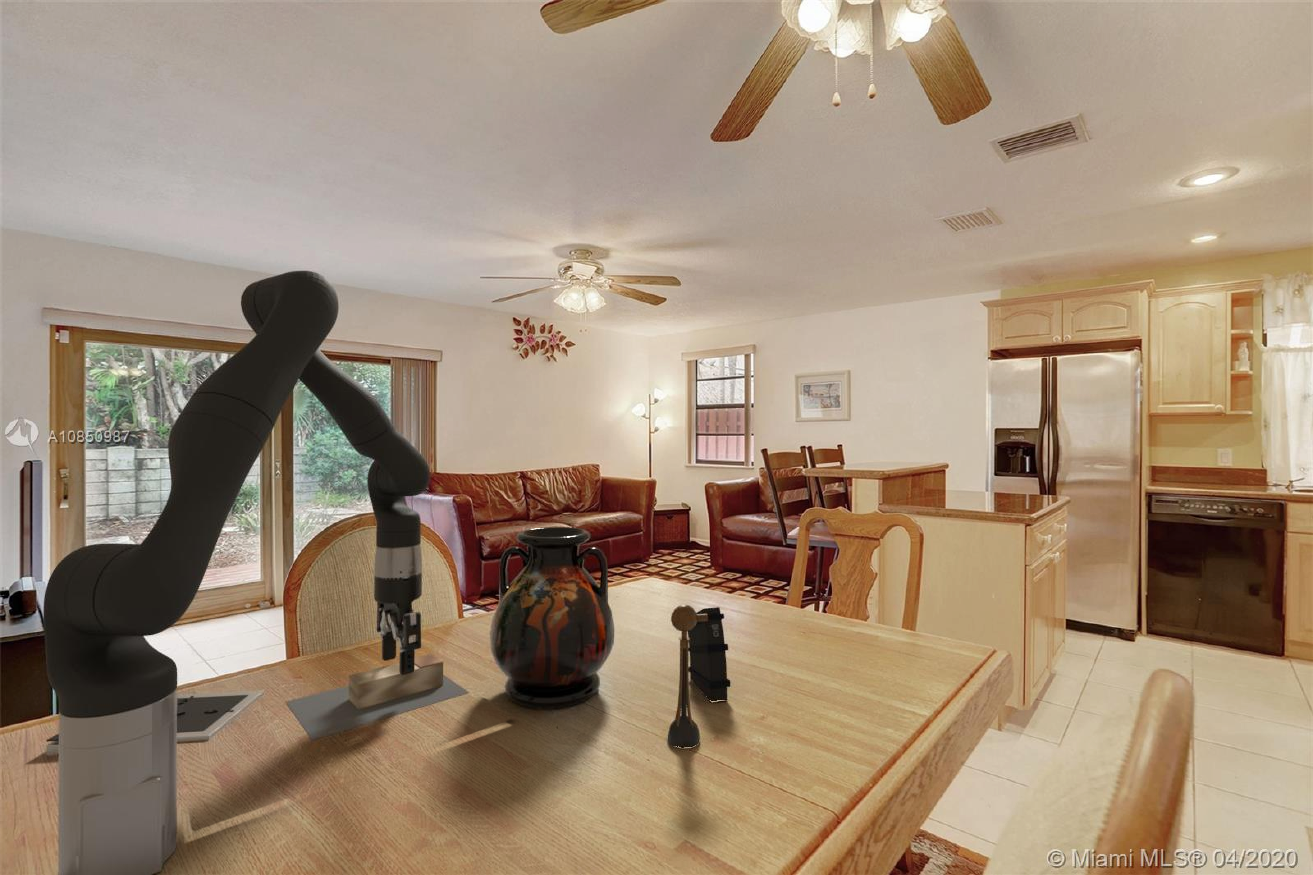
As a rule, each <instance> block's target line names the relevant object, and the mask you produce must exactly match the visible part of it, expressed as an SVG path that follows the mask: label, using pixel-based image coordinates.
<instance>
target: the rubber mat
mask: <svg viewBox="0 0 1313 875" xmlns="http://www.w3.org/2000/svg"><path fill="white" fill-rule="evenodd" d="M467 694H470V692H469V691H468V690H466V688H464V687H462V686H461V685H459V684H458V683H456V682H455V681H454V680H452V679H450V678H449V677H447V676H446V675H445V674H443V685H442V686H438V687H435V688H431V689H428V690H424V691H421V692H417V693H414V694H410V695H407V696H403V697H400V698H396V699H393V700H389V701H386V702H382V703H378V704H375V705H371V706H368V707H364V708H361V709H358V708H357V707H356V706H355V705H354V704H353V703H352V702H351V701H350V700H349V685H345V686H341V687H338V688H334V689H330V690H327V691H321V692H318V693H314V694H311V695H306V696H302V697H298V698H295V699H290V700H287V701H285V703H286V705H287V706H288V708H289V709H290V711H291V712H292V713H293V715H294V717H296V719H297V720H298V722H299V723H300V724H301V726H302V727H303V729H304V731H305V732H306V733H307V734H308V736H309V738H310V739H311V741H315V740H317V739H322V738H324V737H327V736H332V735H335V734H338V733H340V732H341V733H342V732H343V731H347V730H351V729H355V728H357V727H360V726H364V725H367V724H370V723H374V722H377V721H381V720H383V719H387V718H390V717H394V716H398V715H401V714H405V713H407V712H410V711H414V710H417V709H420V708H424V707H427V706H430V705H433V704H437V703H439V702H443V701H446V700H447V701H448V700H450V699H453V698H456V697H461V696H462V695H463V696H464V695H467Z"/></svg>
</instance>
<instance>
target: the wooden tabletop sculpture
mask: <svg viewBox="0 0 1313 875" xmlns="http://www.w3.org/2000/svg"><path fill="white" fill-rule="evenodd" d="M670 621H671V624H672V626H673V627H674V628H675V630H676V631H679V632H681V636H680V637H678V640H679V682H678V683H679V684H678V697H677V706H676V713H675V718H674V719H673V721H672V722H671V723H670V725H669V729H668V734H667V743H668V742H669V743H670V744H671V745H672V746H677V747H678V746H679V747H681V748H684V747H693V746H695V745H697V744H698V743H699V744H700V742H699V740H700V739H701V737H700V736H701V735H700V729H699V726H698V724H697V723H696V722H695V721H694V719H692V713H691V712H692V711H691V702H690V701H691V700H690V680H689V679H690V672H689V667H690V666H689V663H690V651H689V640H690V638H689V637H688V632H687V631H690V630H692V629H693V628H694V627H695V626H696V623H697V622H702V621H708V615H707V614H697V612H696V610H695V608H693V607H692V606H691V605H688V604H681V605H678V606H677V607H676V608H674V609H673V612H672V613H671V618H670ZM700 741H701V740H700ZM669 743H668V744H669ZM670 744H669V745H670ZM671 745H670V746H671ZM672 746H671V747H672ZM697 746H698V745H697Z"/></svg>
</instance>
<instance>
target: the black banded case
mask: <svg viewBox="0 0 1313 875" xmlns="http://www.w3.org/2000/svg"><path fill="white" fill-rule="evenodd" d="M720 608H721V607H720V606H718V607H717V606H716V607H708V608H707V607H706V608H702V609H701V610H699V611H697V612H696V613H697V614H707V615H708V621H702V622H697V623H696V626H695V627H694V628H693V629H692V630H690V631H687V637H689V638H690V640H689V666H688V667H689V679H690V680H692V681H693V682H694V683H693V682H692V681H691V682H692V683H693V684H694V685H695V686H696V687H697V689H700V690H701V691H702V692H703V693H702V692H701V691H700V690H699V691H700V692H701V693H702V694H703V695H704V696H705V697H706V696H707V698H708V699H709V700H711V701H717V700H727V701H728V688H730V687H731V680H730V679H729V678H728V669H727V665H728V664H727V655H726V651H729V644H728V643H725V634H724V627H723V619H725V614H724V613H721V609H720ZM707 698H706V699H707ZM708 699H707V700H708ZM709 700H708V701H709Z"/></svg>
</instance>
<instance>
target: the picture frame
mask: <svg viewBox="0 0 1313 875" xmlns="http://www.w3.org/2000/svg"><path fill="white" fill-rule="evenodd" d="M264 695H265V690H245V691H244V690H243V691H241V690H240V691H224V692H223V691H221V692H203V693H185V694H183V693H181V694H177V743H185V742H198V741H199V742H203V741H210V740H211V739H212V738H213V737H214V736H216V735H217V734H218V733H219V732H221V731H222V730H223V729H224V728H225V727H226V726H228V725H229V724H230V723H232V721H234V720H235V719H236V718H237V717H238V716H240V715H241V714H243V712H245V711H246V710H247V709H248V708H249V707H251V705H254V703H255V702H256V701H258V700H259V699H260V698H261V697H263V696H264ZM46 742H50V743H48V744H46V748H45V752H46V754H45V756H46V755H49V756H55V755H54V754H59V733H57V734H55V735H53V736H51V737H49V738H47V739H46ZM51 754H53V755H51Z"/></svg>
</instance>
